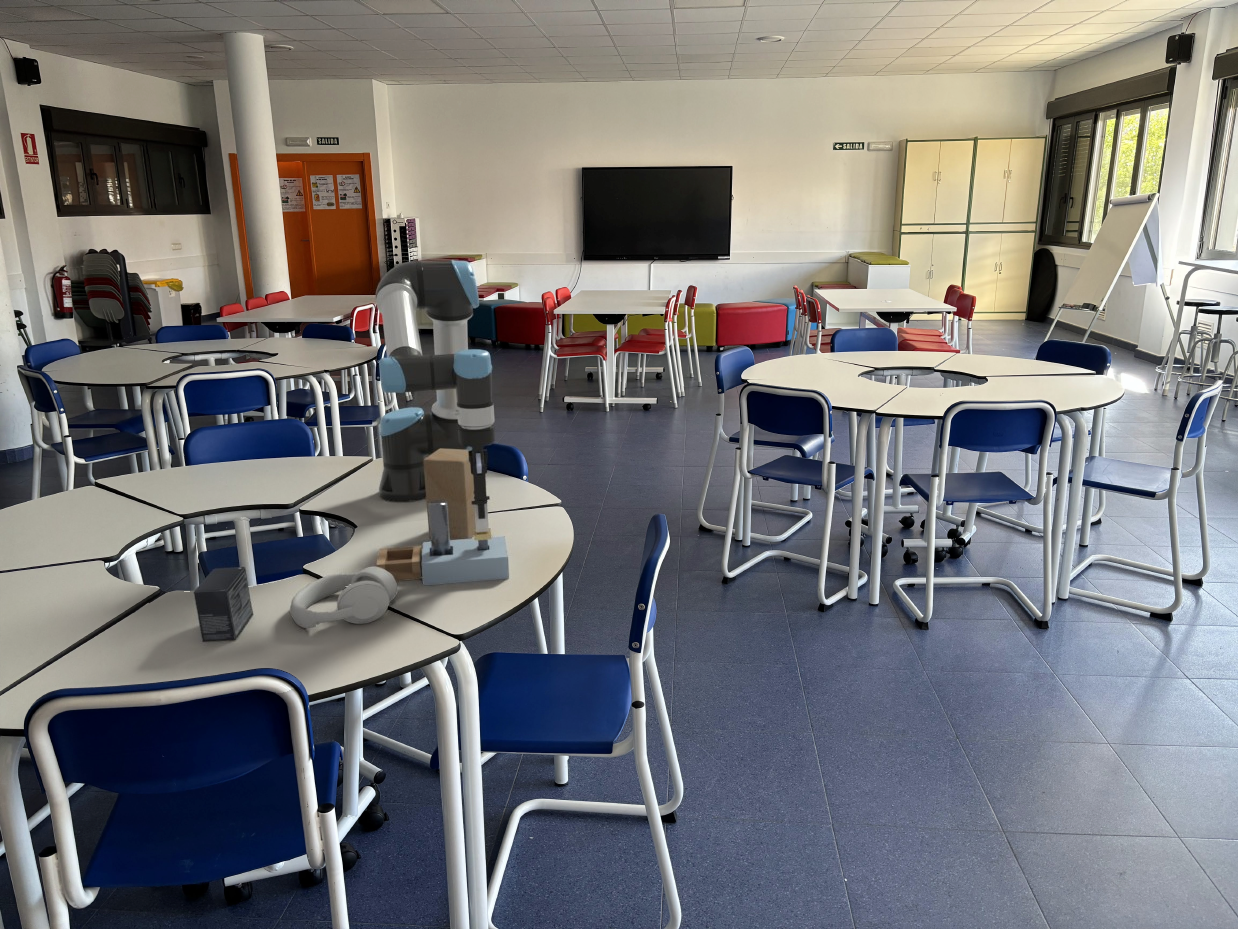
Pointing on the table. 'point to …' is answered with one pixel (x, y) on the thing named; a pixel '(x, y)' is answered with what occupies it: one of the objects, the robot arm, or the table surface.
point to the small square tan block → (482, 539)
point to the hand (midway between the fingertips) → (482, 530)
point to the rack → (401, 562)
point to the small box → (223, 604)
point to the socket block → (466, 562)
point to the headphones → (346, 597)
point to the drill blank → (439, 528)
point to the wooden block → (452, 489)
